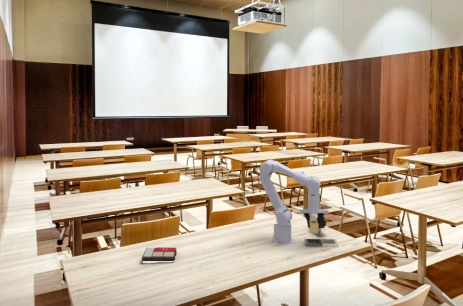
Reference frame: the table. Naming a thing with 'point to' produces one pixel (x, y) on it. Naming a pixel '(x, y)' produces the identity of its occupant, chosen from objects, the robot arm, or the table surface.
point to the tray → (321, 243)
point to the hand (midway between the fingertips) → (313, 227)
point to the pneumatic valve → (315, 218)
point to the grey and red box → (159, 254)
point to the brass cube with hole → (313, 227)
